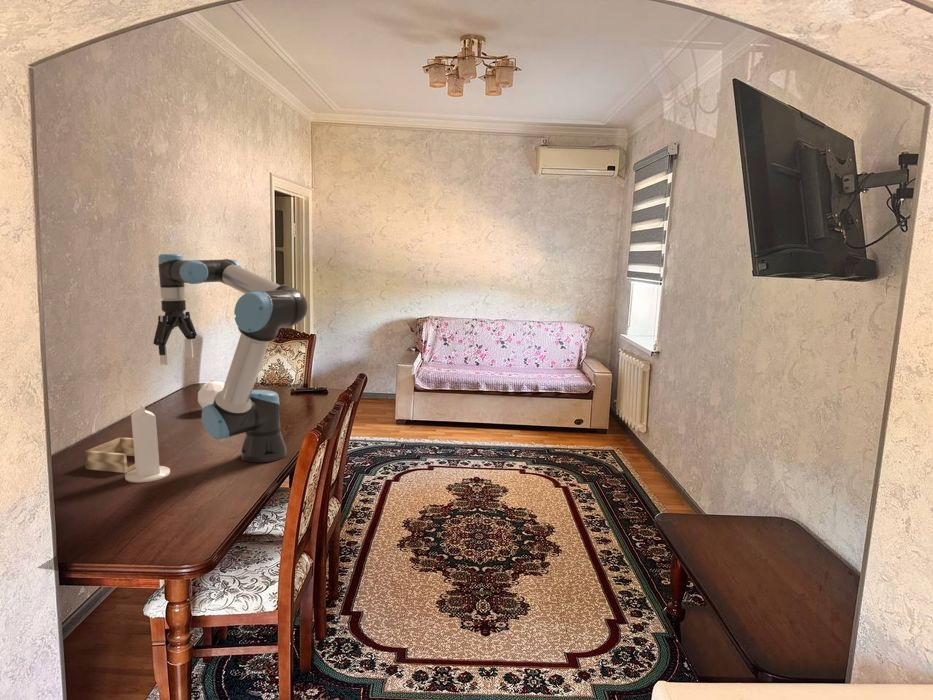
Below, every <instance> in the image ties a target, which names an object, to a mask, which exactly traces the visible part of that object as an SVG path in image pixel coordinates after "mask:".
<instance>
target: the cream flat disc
mask: <svg viewBox="0 0 933 700" xmlns="http://www.w3.org/2000/svg"><path fill="white" fill-rule="evenodd" d="M159 467H160V473H159V474H154V475H149V476H144V477H139V476H138V474H137V473H136V468H134V469H132V470H130V471H128V472H126V473H124V480H125V481H126V482H129V483H137V484H139V483H141V484H142V483H151V482H155V481H159V480H161V479H164V478H166V477H168V476H169V475H170V474H171V469H170V468H169V467H167V466H164V465H159Z"/></svg>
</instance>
